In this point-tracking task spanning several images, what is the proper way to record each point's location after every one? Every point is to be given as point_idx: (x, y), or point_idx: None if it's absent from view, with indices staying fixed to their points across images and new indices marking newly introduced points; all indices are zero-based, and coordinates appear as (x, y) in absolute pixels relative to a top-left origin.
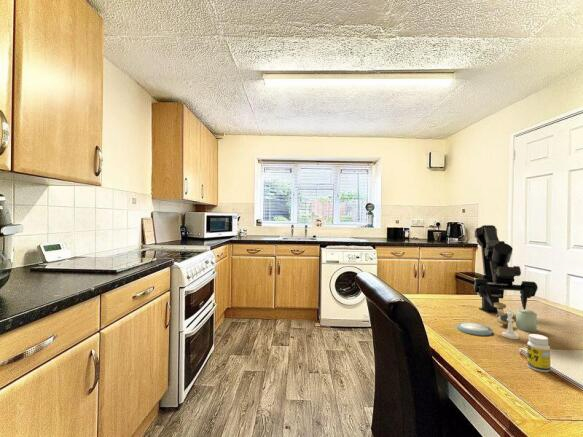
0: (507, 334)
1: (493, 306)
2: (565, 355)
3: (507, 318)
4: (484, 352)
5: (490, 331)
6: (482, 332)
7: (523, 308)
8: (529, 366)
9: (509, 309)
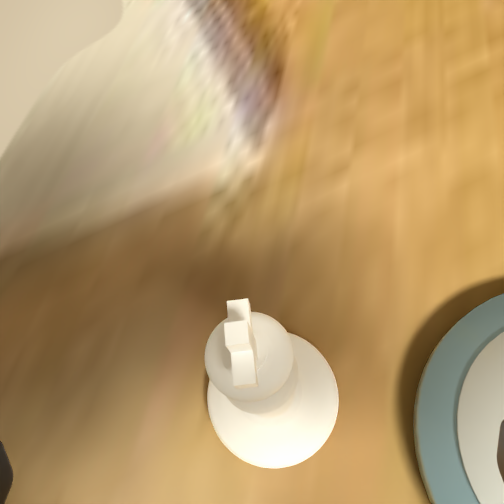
0: (300, 350)
1: (498, 451)
2: (49, 157)
3: (283, 391)
4: (459, 12)
5: (436, 368)
6: (501, 302)
7: (3, 490)
8: None
9: (252, 331)
